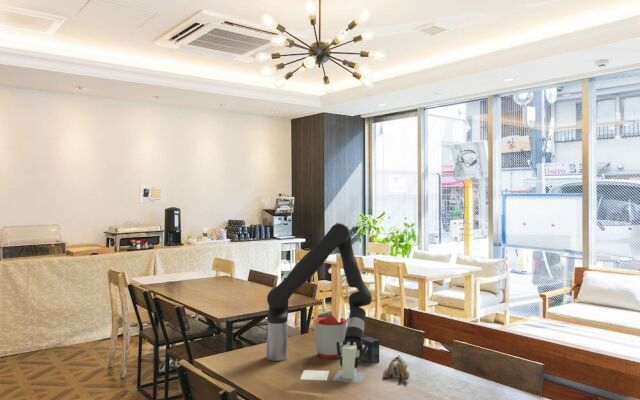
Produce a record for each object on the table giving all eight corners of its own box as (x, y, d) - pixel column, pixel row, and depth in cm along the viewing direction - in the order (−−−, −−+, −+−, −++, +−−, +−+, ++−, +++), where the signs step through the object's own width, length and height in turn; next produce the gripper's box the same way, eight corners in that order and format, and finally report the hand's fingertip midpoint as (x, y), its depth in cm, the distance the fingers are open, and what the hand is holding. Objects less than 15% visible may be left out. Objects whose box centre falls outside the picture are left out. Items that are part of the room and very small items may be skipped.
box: (379, 362, 225) (379, 339, 225) (370, 365, 221) (371, 341, 221) (367, 358, 231) (367, 335, 231) (358, 360, 227) (358, 338, 227)
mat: (300, 381, 201) (300, 379, 201) (303, 372, 212) (303, 369, 212) (326, 382, 199) (326, 380, 199) (329, 373, 210) (329, 371, 210)
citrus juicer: (354, 353, 238) (354, 312, 238) (336, 363, 223) (336, 319, 223) (327, 348, 246) (327, 308, 246) (307, 357, 232) (308, 315, 232)
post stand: (332, 382, 200) (332, 367, 200) (339, 372, 211) (339, 358, 211) (360, 385, 197) (361, 370, 197) (366, 375, 208) (366, 361, 208)
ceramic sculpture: (411, 352, 212) (408, 365, 198) (411, 371, 212) (408, 386, 198) (386, 350, 215) (381, 363, 200) (386, 369, 215) (382, 384, 201)
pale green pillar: (342, 377, 202) (342, 348, 202) (345, 373, 207) (345, 344, 207) (354, 379, 201) (354, 349, 201) (356, 375, 206) (356, 345, 206)
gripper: (337, 324, 213) (330, 360, 202) (370, 327, 209) (364, 364, 198) (340, 333, 218) (333, 369, 207) (372, 336, 214) (366, 373, 203)
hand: (348, 366), depth 202 cm, fingers closed on pale green pillar, 5 cm apart
